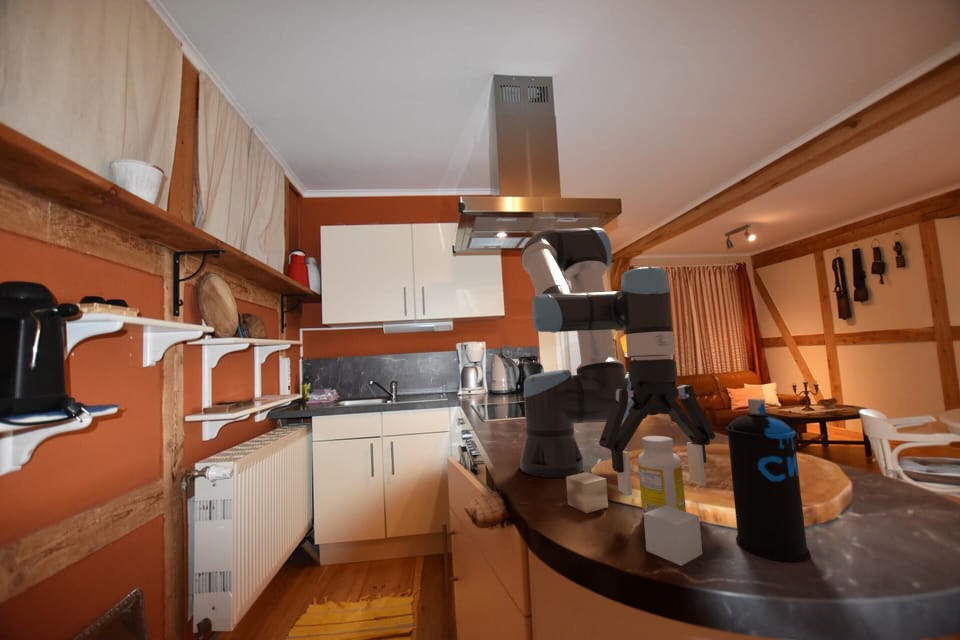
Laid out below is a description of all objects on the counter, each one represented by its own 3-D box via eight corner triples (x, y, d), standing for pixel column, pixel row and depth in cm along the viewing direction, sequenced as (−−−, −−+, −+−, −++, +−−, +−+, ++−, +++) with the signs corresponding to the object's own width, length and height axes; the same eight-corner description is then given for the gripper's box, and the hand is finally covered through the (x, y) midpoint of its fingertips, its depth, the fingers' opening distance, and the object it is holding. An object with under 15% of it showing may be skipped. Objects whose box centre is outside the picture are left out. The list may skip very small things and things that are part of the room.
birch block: (567, 504, 73) (566, 476, 73) (588, 499, 75) (586, 472, 76) (586, 513, 69) (584, 483, 69) (608, 507, 71) (606, 478, 71)
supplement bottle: (677, 510, 68) (670, 434, 69) (694, 527, 62) (686, 442, 63) (637, 510, 69) (631, 434, 70) (649, 527, 62) (642, 443, 63)
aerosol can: (722, 540, 57) (709, 399, 59) (761, 529, 60) (747, 395, 62) (783, 568, 49) (765, 404, 51) (825, 554, 52) (807, 399, 54)
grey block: (646, 551, 55) (643, 513, 55) (667, 541, 58) (665, 505, 58) (681, 566, 51) (677, 525, 51) (702, 554, 53) (699, 516, 54)
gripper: (594, 361, 61) (605, 504, 59) (730, 355, 67) (745, 486, 64) (573, 361, 69) (582, 489, 66) (697, 356, 74) (709, 474, 72)
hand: (662, 488), depth 65 cm, fingers open, 13 cm apart
